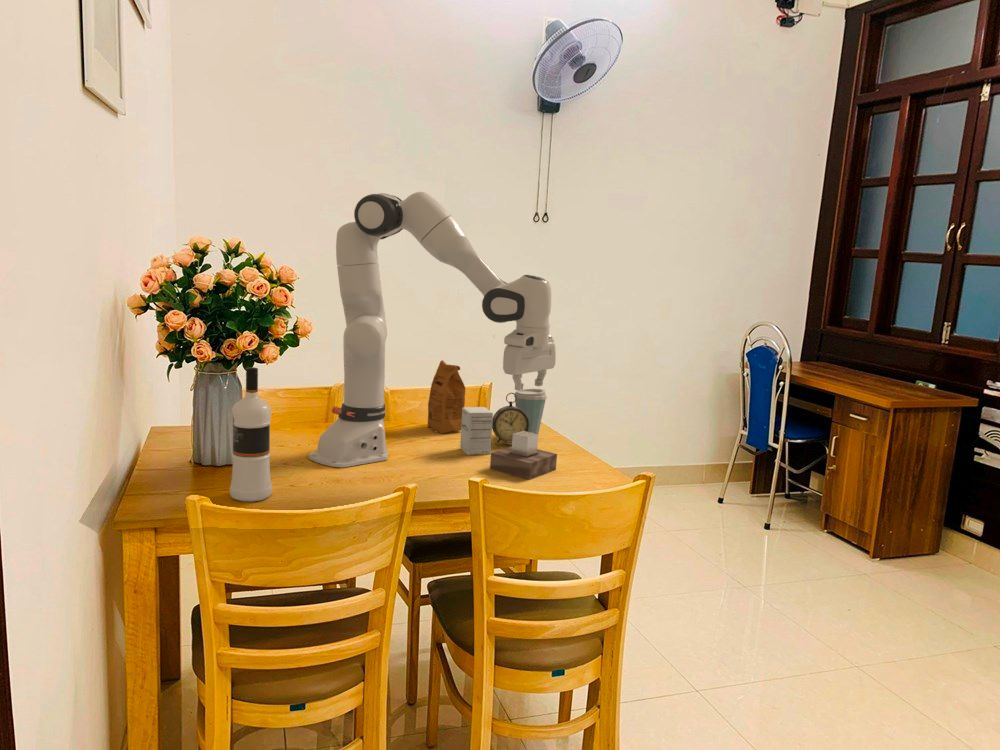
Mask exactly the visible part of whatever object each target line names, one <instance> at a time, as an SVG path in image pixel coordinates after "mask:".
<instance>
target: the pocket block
mask: <svg viewBox="0 0 1000 750" xmlns="http://www.w3.org/2000/svg"><path fill="white" fill-rule="evenodd" d="M511 453H512V446H509V447H505V448H502V449H499V450H496V451H491V453H490V462H489V469H490V468H491V469H490V470H493V469H494V470H493V471H496V470H497V472H501V473H503V474H508V475H511V476H515V477H518V478H522V479H526V480H528V481H529V480H533V479H535V478H537V477H540V476H543V475H545V474H548V473H551V472H554V471H556V470H557V459H558V453H555V452H551V451H548V450H547V451H546V450H542V449H540V448H539V449H538V448H537V455H535V456H532V457H529V458H525V457H521V456H517V455H513V454H511Z"/></svg>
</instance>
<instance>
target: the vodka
mask: <svg viewBox="0 0 1000 750" xmlns="http://www.w3.org/2000/svg"><path fill="white" fill-rule="evenodd" d="M258 377H259V368H258V367H255V366H254V367H253V366H251V367H246V368H245V396H244V397H242V398H241V399H240V400H238V401H236V402H235V403H234V404H233V406H232V409H231V412H232V454H231V457H232V472H231V481H230V482H231V483H230V486H229V495H230V497H231V498H232V499H234V500H235V501H239V502H244V503H253V502H254V503H255V502H261V501H264V500H266V499H268V498H270V496H271V495H272V493H273V484H272V480H271V467H270V464H271V457H272V455H271V452H270V451H271V450H270V447H271V444H270V443H271V442H270V441H271V437H270V436H271V423H272V420H271V418H272V417H271V416H272V408H271V406H270V404H269V402H266V401H265V400H264V399H262V398H261V397H260V396H259V392H258V391H259V378H258Z"/></svg>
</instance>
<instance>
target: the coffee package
mask: <svg viewBox="0 0 1000 750" xmlns="http://www.w3.org/2000/svg"><path fill="white" fill-rule="evenodd" d="M460 370H461V366H459V365H457V364H448V363H446V362H445V361H444V360H443V359H442V360H440V362H439V364H438V366H437V369H436V371H435V374H434V376H433V379H432V383H431V386H430V391H429V396H428V403H427V427H428V428H430V427H431V428H430V429H432V431H433V430H434V431H433V432H435V431H437V432H436V433H439V432H440V434H447V433H451V432H461V424H462V408H463V407H466V406H465V405H466V385H465V383H464V381H463V379H462V378H461V375H460V373H459V371H460Z"/></svg>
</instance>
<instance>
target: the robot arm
mask: <svg viewBox="0 0 1000 750" xmlns="http://www.w3.org/2000/svg"><path fill="white" fill-rule="evenodd" d="M353 211H354V213H353V214H354V215H353V216H354V221H353V222H351V221H350V222H347V223H344V224H343V225H341V226H339V228H338V230H337V232H336V238H335V239H336V242H335V254H336V266H337V269H336V270H337V277H338V285H339V291H340V292H339V293H340V298H341V303H342V309H343V314H344V319H345V325H346V327H345V329H344V332H343V337H342V338H343V340H342V341H343V345H342V346H343V373H344V379H343V380H344V381H343V382H344V383H343V402H342V404H341V406H340V407H338V406H332V407H331V410H330V411H331V413H332V414H334V415H338V416H337V417H338V418H337V419H336V420H335V421H334V422H333V423H332V424H330V426H329V427H328V428H327V429H325V431H324V432H322V434H320V436H319V438H318V441H317V442H318V443H317V450H316V451H313V452H310V453H309V454H308V459H310V461H312V462H315V463H317V464H321V465H324V466H328V467H332V468H333V467H335V468H349V467H353V466H359V465H364V464H371V463H375V462H381V461H383V462H384V461H387V460H388V459H389V457H388V455H389V451H388V448H387V441H386V431H385V423H384V421H385V420H384V418H386V404H385V383H386V382H385V381H386V380H385V379H386V372H385V371H386V370H385V369H386V363H385V362H386V341H387V336H388V328H387V319H386V313H385V312H386V311H385V305H384V298H383V294H382V293H383V292H382V283H381V275H380V264H379V257H378V256H379V255H378V244H379V241H380V240H385V239H386V238H390V237H392V236H394V235H396V234H398V233H400V232H401V231H402V230H405V231H407V232H408V233H410V234H411V236H413V237H414V239H416V240H417V242H418V243H419V244H420V245H421V247H423V249H425V251H426V252H428V253H429V255H431V257H434V258H435V259H436V260H438V261H439V262H440V263H443V264H446V265H448V266H450V267H453V268H455V269H457V270H459V271H460V273H462V274H464V275H465V276H466V278H467V279H468V280H469V281H470V282H471V283H472V284H473V285H474V287H476V288H477V289H478V291H479V292H480V293H481V294H482V296H483V298H482V301H481V308H482V312H483V314H484V316H485V317H486V318H487V319H488V320H490V321H492V322H494V323H497V324H504V323H507V322H514V321H515V322H516V327H515V329H513V330H512V331H511V332H510V333H508V334H506V335H505V337H504V339H503V342H504V343H503V344H504V345H505V347H504V350H503V357H502V358H503V359H502V369H503V372H504V374H506V375H511V376H512V380H513V382H514V390H515V391H520V390H523V389H524V383H522V378H523V374H529V373H534V372H535V373H536V372H537V376H536V378H535V379H534V386H536V387H543V385H544V379H545V377H546V376H547V375H546V374H547V370H553V369H554V368H555V366H556V361H557V360H556V353H557V352H556V345H555V344H556V343H554V339H553V336H552V335H550V326H551V325H550V321H549V320H550V319H549V317H550V314H551V311H552V287H551V284H550V282H549V281H548V280H546V278H544V277H543V278H542V277H540V276H536V275H530V274H523V275H522V276H520V278H517V279H515V280H514V281H511V282H506V281H504V280H502V279H500V278H499V277H498V275H497V274H496V273H495V272H494V271H493V270H492V269H491V268H490V267H489V266H488V265H487V264H486V262H485V261H484V260H483V259H482V258H481V257H480V256H479V254H478V253H477V251H476V250H475V248H474V247H473V245H472V243H471V242H470V240H469V239H468V237H467V235H466V233H465V232H464V230H463V228H461V226H460V224H459V223H458V222H457V221H456V219H455V218H454V217H453V216H452V214H450V213H449V211H448V210H447V209H446V208H445V207H444V206H443V205H442V204H441V203H439V202H438V201H437V200H436V199H435V198H434V197H432V196H431V195H430V194H429V193H427V192H424V191H417V192H414V193H412V194H410V195H408V196H407V197H406V198H405V199H403V200H402V199H401V198H400V197H398V196H396V195H393V194H389V193H382V192H381V193H373V194H372V193H370V194H368V195H366V196H363V197H362V198H360V199H359V201H358V202H357V203H356V205H355V208H354V210H353Z"/></svg>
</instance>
